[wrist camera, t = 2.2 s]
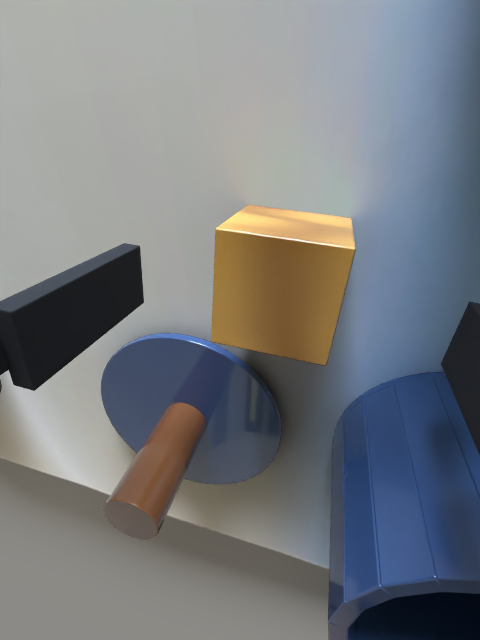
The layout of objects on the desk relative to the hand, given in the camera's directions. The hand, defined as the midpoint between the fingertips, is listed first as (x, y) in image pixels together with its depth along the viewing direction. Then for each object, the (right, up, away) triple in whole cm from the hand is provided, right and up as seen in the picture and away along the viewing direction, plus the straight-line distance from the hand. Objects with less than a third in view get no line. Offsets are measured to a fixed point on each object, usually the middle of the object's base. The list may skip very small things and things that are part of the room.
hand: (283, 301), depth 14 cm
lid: (-5, -8, +11) cm, 14 cm away
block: (+1, +2, +4) cm, 5 cm away
